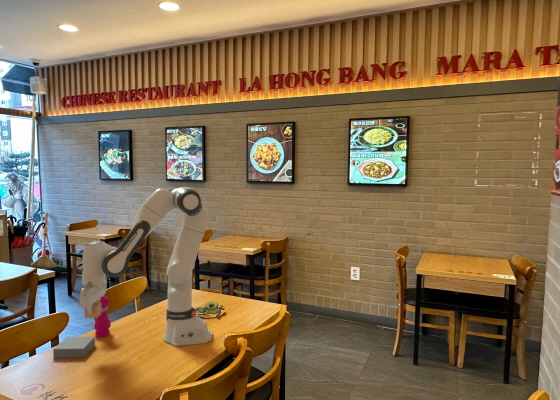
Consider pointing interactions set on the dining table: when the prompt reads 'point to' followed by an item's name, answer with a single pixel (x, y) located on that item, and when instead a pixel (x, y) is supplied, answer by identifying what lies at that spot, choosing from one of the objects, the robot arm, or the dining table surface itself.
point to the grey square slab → (74, 347)
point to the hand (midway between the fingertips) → (93, 311)
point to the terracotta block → (94, 311)
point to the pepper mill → (102, 319)
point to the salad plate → (210, 309)
